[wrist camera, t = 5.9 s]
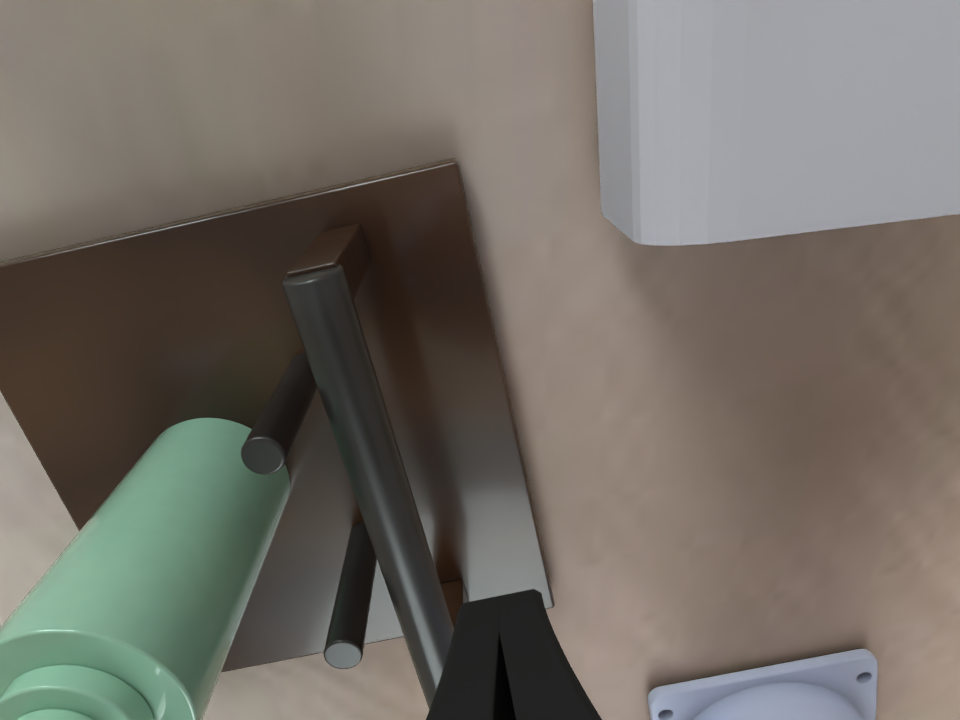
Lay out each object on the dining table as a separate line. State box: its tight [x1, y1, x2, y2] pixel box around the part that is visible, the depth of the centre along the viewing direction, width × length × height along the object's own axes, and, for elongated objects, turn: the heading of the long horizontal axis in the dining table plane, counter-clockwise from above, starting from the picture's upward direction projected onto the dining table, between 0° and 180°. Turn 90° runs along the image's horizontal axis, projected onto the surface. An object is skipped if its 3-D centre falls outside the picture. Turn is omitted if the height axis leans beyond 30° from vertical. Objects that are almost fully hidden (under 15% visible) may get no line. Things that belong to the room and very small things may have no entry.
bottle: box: [0, 418, 290, 720], centre depth 14 cm, size 4×8×10 cm
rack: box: [0, 159, 554, 710], centre depth 17 cm, size 14×13×5 cm
